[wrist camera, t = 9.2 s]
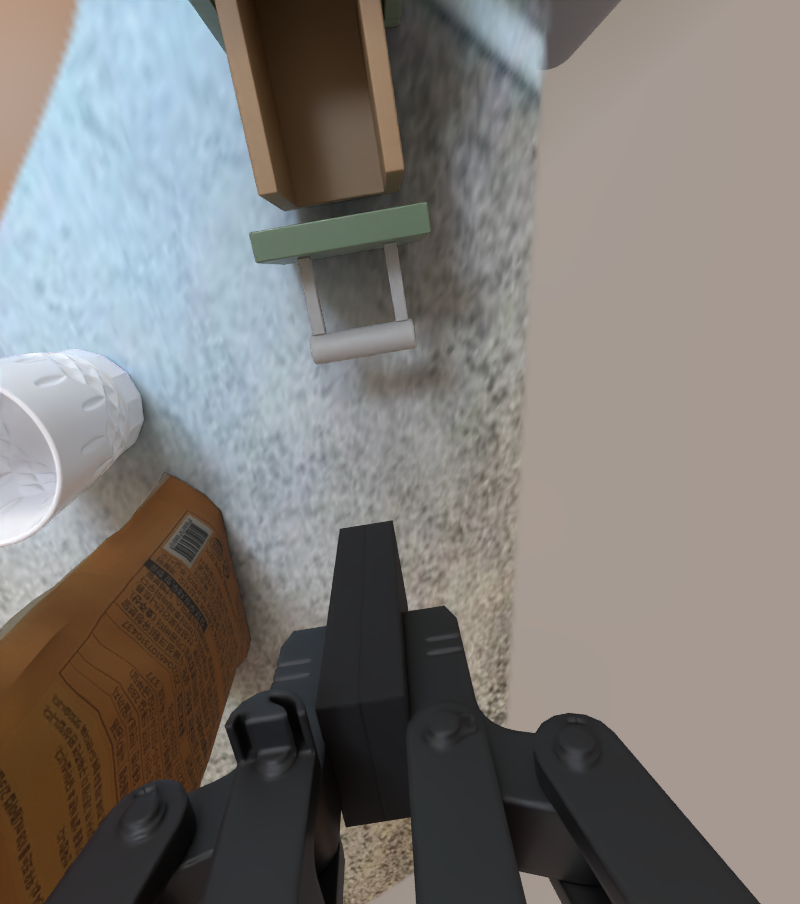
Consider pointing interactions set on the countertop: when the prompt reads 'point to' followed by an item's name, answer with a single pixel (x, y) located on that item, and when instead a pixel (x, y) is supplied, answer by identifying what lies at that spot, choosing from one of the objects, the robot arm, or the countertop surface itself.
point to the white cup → (59, 432)
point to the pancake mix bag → (114, 682)
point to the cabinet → (208, 13)
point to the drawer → (323, 145)
